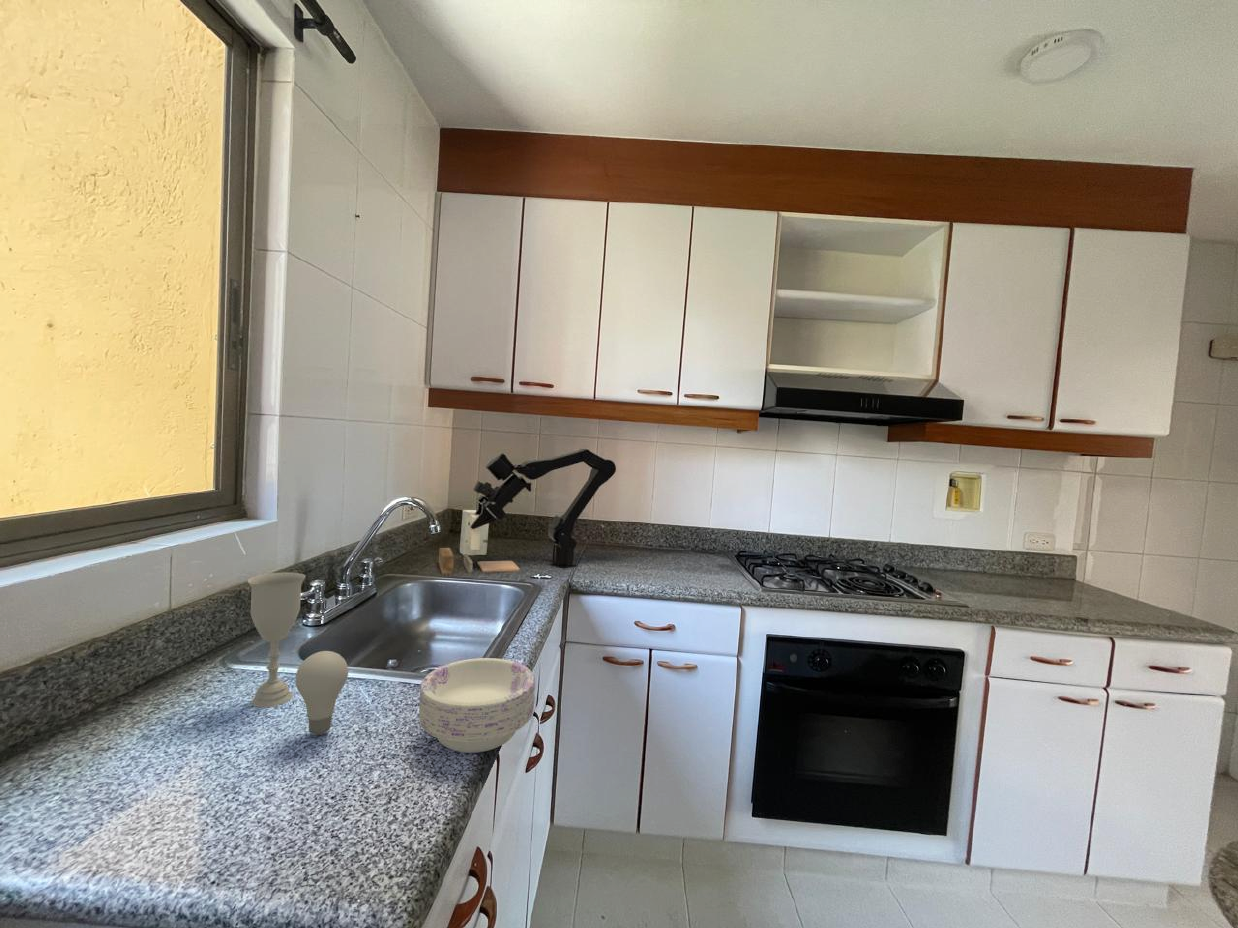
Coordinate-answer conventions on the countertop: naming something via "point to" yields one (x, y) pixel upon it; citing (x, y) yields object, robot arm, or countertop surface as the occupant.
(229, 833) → the countertop surface
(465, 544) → the skincare box
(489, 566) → the terracotta pad
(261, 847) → the countertop surface
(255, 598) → the chalice
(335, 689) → the lightbulb
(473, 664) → the paper bowls
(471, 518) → the cream rectangular block
